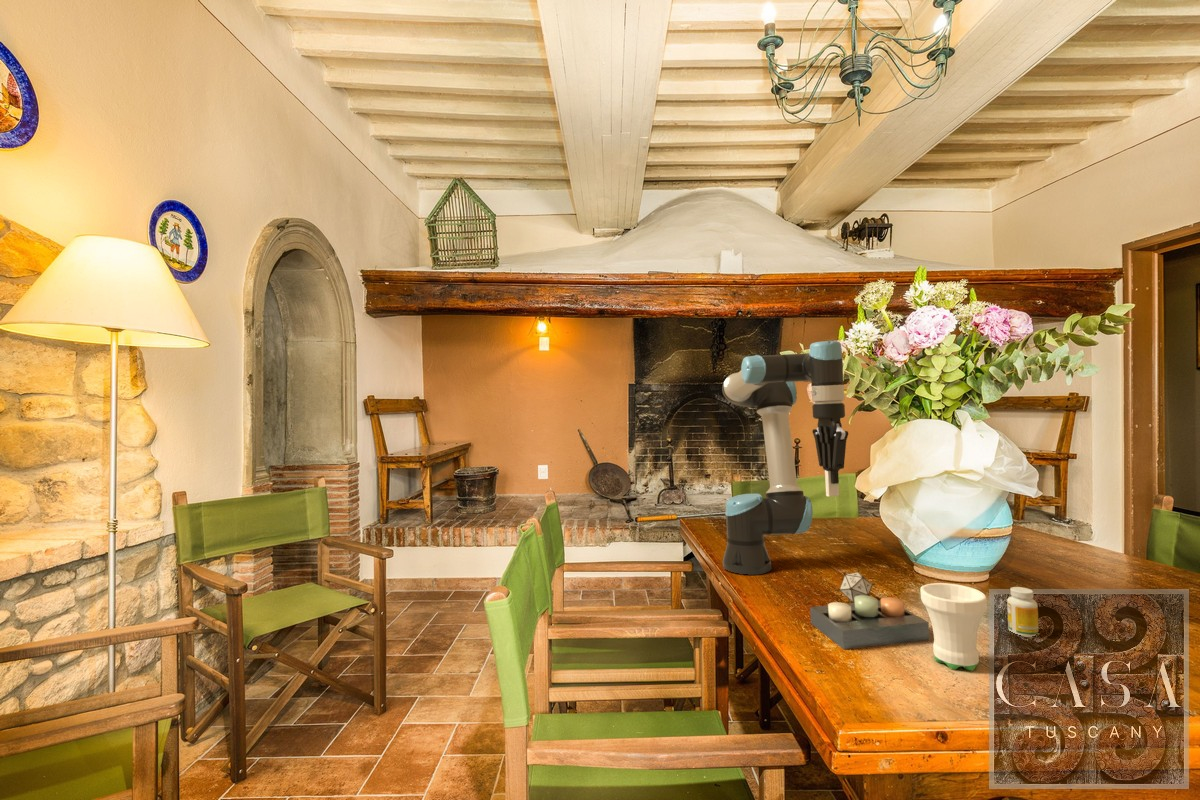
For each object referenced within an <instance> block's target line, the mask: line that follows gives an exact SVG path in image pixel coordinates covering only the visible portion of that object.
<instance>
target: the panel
mask: <svg viewBox="0 0 1200 800" xmlns="http://www.w3.org/2000/svg"><path fill="white" fill-rule="evenodd" d="M847 604H848V605H850V606H851V616H852V621H848V622H838V623H835V622H833V621H832V620H831V619H829V612H828V604H827V605H818V606H810V609H809V611H810V624H811V625H812V626H814V628H816V629H817V630H819V632H821V633H822V634H824V635H825V636H826V637H828V638H829V639H830V640H831V641H832V642H834V643H835V644H837V646H839V647H840V648H841V649H843V650H850V649H852V650H853V649H859V648H861V649H862V648H869V647H870V648H871V647H872V648H873V647H879V646H880V647H881V646H889V645H898V644H907V643H917V642H927V641H930V627H929V622H928V621H927V620H926V619H924V618H921V617H919V616H918V615H916V614H914V613H913V612H911V611H908V610H907V609H905V608H904V610H905V616H899V617H888V616H886V615H884V614H883V613H881V599H880V600H878V616H876V617H864V616H860V615H858V614H856V613H855V603H853V602H849V603H847Z"/></svg>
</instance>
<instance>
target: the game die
mask: <svg viewBox="0 0 1200 800" xmlns="http://www.w3.org/2000/svg"><path fill="white" fill-rule="evenodd" d="M856 571H857V572H852V573H847V574H846V573H845V572H844V571H843V572H842V574H843V575H844V576H843V577H842V578H841V579H842V580H841V581H842V582H841V584H840V588H837V589H836V591H837V592H841V593H842V594H843V595H844V596H845V597H846V598H847V599H849V600H850V602H851V603H855V601H854V597H855V596H859V595H866V596H871V595H870V594H871V591H872V588H873V586H876V583H872V582H871V581H869V580H868V578H866V577H865V575H862V574H861V573H860V569H857V570H856Z"/></svg>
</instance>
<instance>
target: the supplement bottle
mask: <svg viewBox="0 0 1200 800" xmlns="http://www.w3.org/2000/svg"><path fill="white" fill-rule="evenodd" d="M1010 595H1011V596H1009V597H1008V598H1007V600H1006V603H1007V605H1006V606H1007V608H1006V609H1007V611H1006V612H1007V627H1008V631H1009V632H1010V631H1011V632H1013V633H1015V634H1018V635H1017V636H1019V635H1021V636H1020V637H1025V638H1033V637H1032V636H1035V635H1036V634H1038V632H1039V630H1040V629H1039V628H1040V627H1039V610H1038V609H1039V608H1038V602H1037V601H1036V600H1034V599H1033V598H1034V590H1032V589H1030V588H1028V587H1021V586H1013V587H1010ZM1011 632H1010V633H1011ZM1013 633H1012V634H1013ZM1015 634H1014V635H1015ZM1038 635H1039V634H1038Z"/></svg>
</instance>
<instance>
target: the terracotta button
mask: <svg viewBox="0 0 1200 800" xmlns="http://www.w3.org/2000/svg"><path fill="white" fill-rule="evenodd" d="M880 600H881V613H883V614H884V615H886V616H888V617H899V616H905V610H906V609H905V601H904V600H902V599H900V598H897V597H889V596H888V597H881V598H880ZM904 609H905V610H904Z"/></svg>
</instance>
